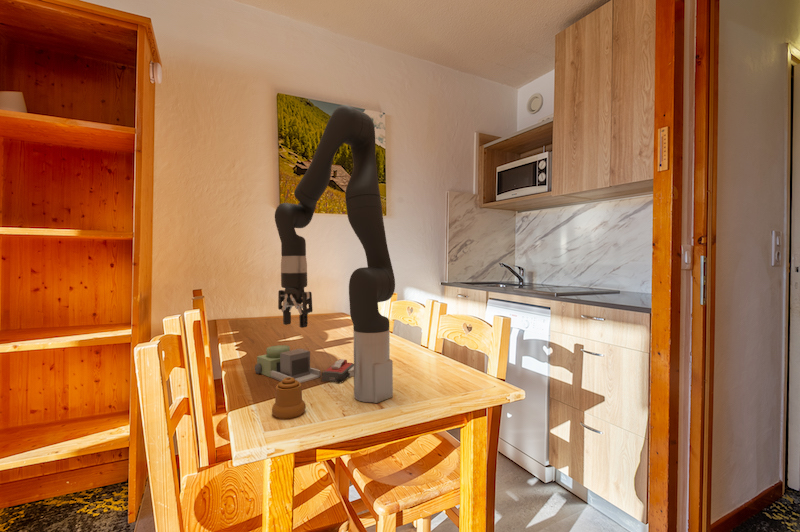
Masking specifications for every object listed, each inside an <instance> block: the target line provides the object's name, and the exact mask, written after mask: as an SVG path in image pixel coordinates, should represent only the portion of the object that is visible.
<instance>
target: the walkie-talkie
mask: <svg viewBox="0 0 800 532" xmlns="http://www.w3.org/2000/svg"><path fill="white" fill-rule="evenodd" d="M351 376H353V377H354V362H353V363H352V362H348V360H347V359H343V358H341V359H340V358H339V359H338V360H336V361H335V362H334V363H333V364H331V365H330V366H329V367H327V368H326V369H325V370H323V371H321V381H322V382H323V381H331V382H330V383H336V382H341V383H343V382H344V381H345V380H346V379H348V378H352V377H351ZM347 377H348V378H347ZM342 381H343V382H342Z"/></svg>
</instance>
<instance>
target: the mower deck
mask: <svg viewBox="0 0 800 532" xmlns="http://www.w3.org/2000/svg"><path fill="white" fill-rule="evenodd" d="M290 347H291V346H289V345H286V344H283V345H282V344H280V345H279V344H278V345H271V346H268V347H266V351H265V352H266V353H265V354H263V355H258V356H256V364H255V366H254V371H255V372H254V373H256V374H257V375H259V374H261V375H263V376H265V377H268V378H271V379H274V380H277V381H278V382H281V381H282V380H283V379H284V378H288V377H290V376H287V375H285V374H282V373H280V353H282V352H287V351H291V348H290ZM292 378H293V377H292ZM319 378H322V371H321V370H320V369H318V368H314V367H311V366H310V374H309V375H306V376H302V377H299V378H295V380H297V381H299V383H301V384H303V383H305V382H308V381H312V380H315V379H319Z"/></svg>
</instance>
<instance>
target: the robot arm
mask: <svg viewBox="0 0 800 532" xmlns="http://www.w3.org/2000/svg"><path fill="white" fill-rule="evenodd" d="M328 119H329V120H328V121H327V123H326V126H325V128H324V130H323V133H322V136H321V138H320V141H319V143H318V145H317V148H316V150H315V153H314V155H313V158H312V160H311V163H310V164H309V166H308V167H307V170H306V171H305V173H304V175H303V176H302V177H301V179H300V181H299V182H298V184H297V186H296V188H295V189H294V191H293V192H294V193H293V195H294V197H295V200H297V201H298V203H290V202H282V203H279V205H278V206H277V207H276V209H275V212H274V221H275V222H274V223H275V226H276V230H277V233H278V236H279V239H280V244H281V247H280V248H281V250H280V251H281V256H280V257H281V260H280V285H281V288H283V289H280V290H278V298H277V299H278V305H277V308H278V310H280V311H281V313H282V318H283V319H282V322H283V325H286V326H287V325H291V323H292V315H291V314H292V312H291V311H292V308H293V307H295V309H297V311H298V313H299V318H298V319H299V328H307V327H308V315H309V313H313V310H314V309H313V294H312V292H311V291H305V288H307V287H308V262H307V261H308V260H307V249H306V248H307V243H306V238H305V237H303V236H301V235H299V234H298V233H297V232H296V229H303V228H306V227H307V226H308V225H309V224H310V223H311V221H312V220H313V217H314V213H315V211H316V206H317V203H318V201H320V199H321V197H322V196H323V194H324V192H325V191H326V189H327V188H328V186H329V183H330V180H331V176H332V165H333V162H334V158H335V155H336V153H337V152H338V150H339V149H340V148H341V146H342V145H344V144H346V145H348V146H350V150H351V156H352V164H353V166H352V173H351V174H350V177H349V180H348V183H347V185H346V188H345V194H344V195H345V207H346V214H347V218H348V219H347V220H348V222H349V224H350V226H351V228H352V230H353V232H354V233H355V236H356V237H357V238H358V240H359V241H360V243H361V245H362V249H363V250H364V252H365V257H366V262H367V263H366V264H367V267H365V266H364V267H359V268H356V269H355V270H354V271H353V272H352V274H351V275H350V278H349V281H348V282H349V283H348V299H349V300H348V301H349V311H350V312H349V314H350V319H351V321H352V325H353V327H352V328H353V364H354V376H353V397H354V399H356V400H357V401H359V402H363V403H374V404H379V403H381V402H383V401H385V400H387V399H391V398H393V396H394V392H393V391H394V390H393V389H394V388H393V387H394V386H393V384H394V382H393V381H394V379H393V375H394V373H393V369H394V368H393V367H394V365H393V364H394V363H393V360H392V359H390V342H391V341H390V319H389V318H388V317H387V316H385V315H382V314H381V313H380V312H379V303H382V302H387V301H389V300H390V299H391V298H392V297H393V295H394V293H395V291H396V289H395V288H396V280H395V273H394V269H393V265H392V264H393V263H392V261H391V256H390V253H389V248H388V243H387V236H386V231H385V224H384V216H383V215H384V214H383V205H382V198H381V192H380V184H379V176H378V167H377V157H376V156H377V155H376V153H377V150H376V130H375V125H374V124H375V123H374V122H373V120H372V118H371V116H369V115H368V114H367V113H365V112H363V111H362V110H360V109H357V108H355V107H353V106H351V105H348V104H342V105H339V106H338V107H336V108H335V109H334V111H333V112H332V114H331V115H330V118H328Z"/></svg>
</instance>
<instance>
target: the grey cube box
mask: <svg viewBox="0 0 800 532" xmlns="http://www.w3.org/2000/svg"><path fill="white" fill-rule="evenodd" d="M310 367H311V351H310V350H307V349H303V348H296V349H292V350H291V349H290V351H287V352H282V353H280V373H282V374H285V375H287V376H290V377H293V378H294V379H295V378H299V377H302V376H306V375H309V374H310Z"/></svg>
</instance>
